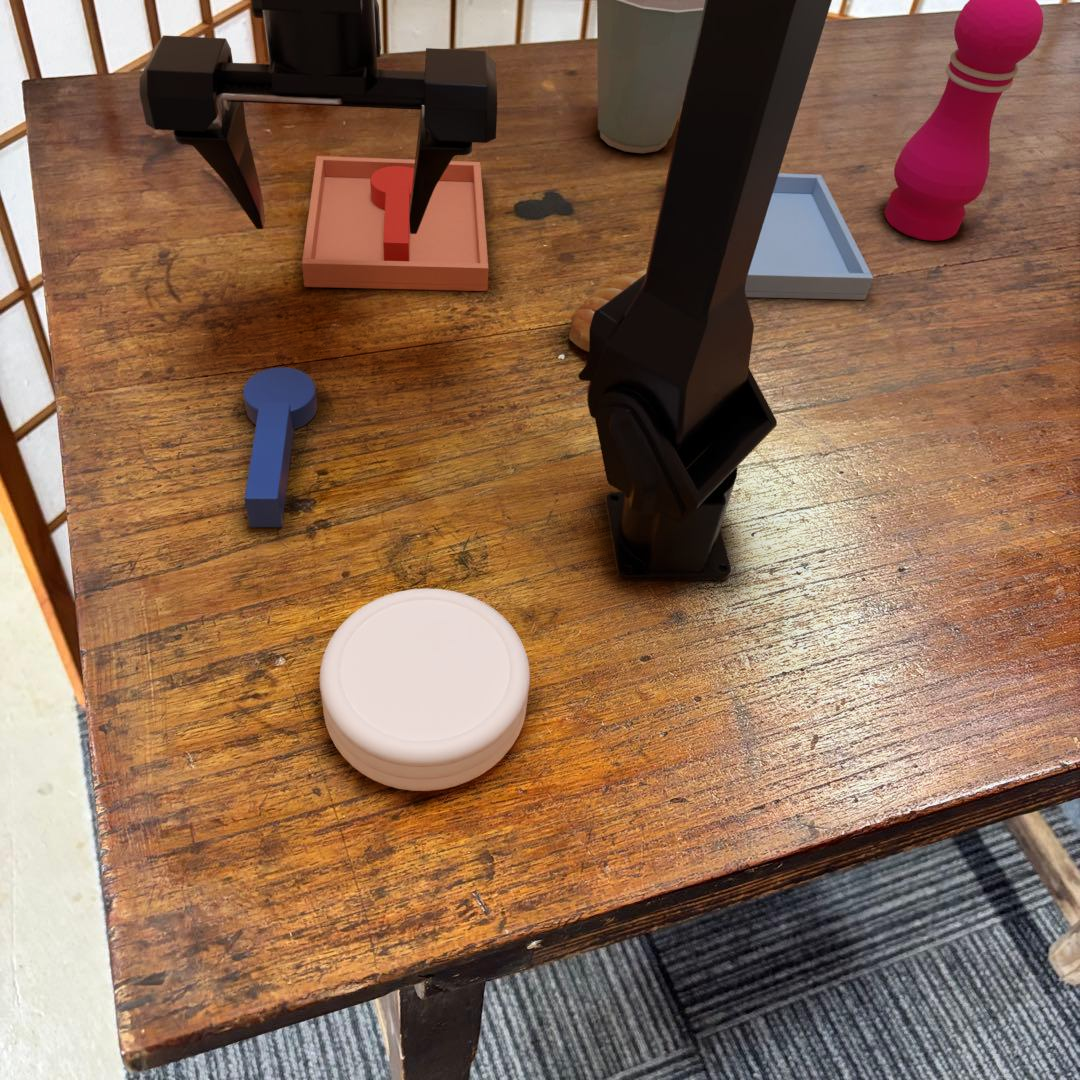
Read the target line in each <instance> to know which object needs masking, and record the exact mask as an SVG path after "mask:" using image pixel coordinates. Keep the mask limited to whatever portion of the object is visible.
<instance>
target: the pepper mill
mask: <svg viewBox="0 0 1080 1080" xmlns="http://www.w3.org/2000/svg"><path fill="white" fill-rule="evenodd" d="M1043 28H1044V15H1043V10H1042V7H1041V5H1040V3H1039V2H1038V1H1037V0H968V1H967V2H966V3H965V4H964V6H963V7H962V9H961V11H960V12H959V13H958V16H957V19H956V20H955V25H954V31H953V36H954V41H955V43H956V46H957V49H955V50H954V51H952V53H950V56H949V57H950V59H949V60H950V61H949V63H948V64H947V65H946V67H945V73H946V75H947V77H948V78H947V81H946V84H945V87H944V91H943V93H942V96H941V98H940V100H939V102H938V104H937V106H936V107H935V109H934V111H933V112H932V114H931V115H930V117H929V118H928V119H926V121H925V122H924V123H923V124H922V126H921V127H920V128H919V129H918V130H917V131H916V132H915V133H914V134H913V135H912V136H911V137H910V138H909V139H908V141H907V142H906V144H904V147H903V148H902V149H901V151H900V154H899V156H898V158H897V160H896V162H895V164H894V169H893V176H894V180H895V183H896V185H897V187H896V188H894V189H893V190H892V191H891V193H890V195H889V197H888V201H887V203H886V207H885V209H884V217H885V219H886V221H887V222H888V224H889V226H891V227H892V228H894V229H895V230H897V231H898V232H899V233H902V234H904V235H906V236H909V237H911V238H913V239H916V240H917V239H918V240H922V241H930V242H932V241H933V242H934V241H935V242H941V241H944V240H949V239H951V238H952V237H954V236H955V235H957V234H958V232H959V230H960V228H961V225H962V222H963V220H964V218H965V216H966V207H965V206H966V205H969V204H970V203H972V202H973V201H975V200H976V199H977V198H978V197H979V196H980V195H981V194H982V192H983V190H984V187H985V184H986V181H987V178H988V176H989V175H988V174H989V167H990V162H991V161H990V160H991V159H990V155H991V154H990V142H991V141H990V136H991V126H992V120H993V116H994V113H995V110H996V108H997V104H998V102H999V100H1000V98H1001V96H1002V94H1003V92H1006V91H1008V90H1009V89H1011V88H1012V86H1013V84H1014V79H1015V77H1016V76H1017V75H1018V72H1019V66H1018V65H1017V64H1018V63H1019V62H1021V61H1022V60H1024V59H1026V58H1027V57H1029V56H1030V55H1031V53H1033V51H1034V50H1035V49H1036V47H1037V45H1038V43H1039V41H1040V39H1041V36H1042V33H1043Z"/></svg>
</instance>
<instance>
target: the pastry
mask: <svg viewBox="0 0 1080 1080" xmlns="http://www.w3.org/2000/svg"><path fill="white" fill-rule="evenodd" d="M646 271H647V267H645V268H643V270H639V271H637V272H631V273H630V272H628V273H626V274H624V275H620V276H616V277H614V278H612V279H610V280H609V281H608V282H607V283H605V284H603V285H602V286H600V288H598V289H596V290H595V291H594V292H593V293H592V294H591V295H590V296H589V297H588V298H587V299H585V301H584V303H582V304H581V305H580V306H579V307H578V309H577V310H576V311H575V312H574V313H573V314H572V316H571V320H570V321H571V322H570V323H571V324H570V332H569V335H568V338H569V341H571V342H572V343H573V344H574V345H575V346H576V347H578V348H580V349H581V350H583V351H585V352H588V353H589V330H590V325H591V322H592V318H593V315H594V312H595V311H596V310H598V309H599V308H600V307H602V306H603V305H604V304H606V303H607V302H608V301H610V300H611V299H612V298H614V297H615V296H616V295H618V294H619V293H620V292H622V291H623V290H624V289H626V288H627V287H628V286H630V285H631V284H633V283H634V282H635V281H637V280H638V279H639V278H641V277H642V276H643V275H645V274H646Z"/></svg>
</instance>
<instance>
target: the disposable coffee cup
mask: <svg viewBox="0 0 1080 1080" xmlns="http://www.w3.org/2000/svg"><path fill="white" fill-rule="evenodd" d="M704 4H705V0H596V21H597V22H596V27H597V28H596V29H597V30H596V31H597V32H596V34H597V35H596V38H597V39H596V41H597V43H596V45H597V47H596V48H597V49H596V50H597V52H596V53H597V57H596V58H597V130H598V131H599V138H600V139H601V140H602V141H603V142H605V144H606V145H608V146H610V147H612V148H615V149H617V150H620V151H623V152H628V153H635V154H647V153H655V152H658V151H660V150H661V149H662V148H664V147H666V146H667V144H668V141H669V140H670V139H671V138H672V136H673V133H674V130H675V127H676V124H677V122H678V120H679V119H678V118H679V117H680V114H681V110H682V105H683V101H684V96H685V91H686V87H687V82H688V78H689V73H690V68H691V64H692V59H693V55H694V50H695V45H696V41H697V36H698V31H699V27H700V22H701V18H702V13H703V8H704Z"/></svg>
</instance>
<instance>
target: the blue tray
mask: <svg viewBox="0 0 1080 1080" xmlns="http://www.w3.org/2000/svg"><path fill="white" fill-rule="evenodd" d="M873 280H874V277H873V274H872V272H871V270H870V268H869V266H868V264H867V262H866V260H865V259H864V256H863V255H862V252H861V250H860V248H859V246H858V244H857V243H856V241H855V238H854V237H853V235H852V233H851V231H850V229H849V226H848V225H847V223H846V220H845V218H844V216H843V215H842V213H841V211H840V209H839V207H838V204H837V203H836V200H835V199H834V197H833V195H832V193H831V191H830V189H829V187H828V186H827V183H826V181H825V179H824V178H823V175H822V174H814V173H813V174H812V173H810V174H809V173H784V172H779V174H778V178H777V181H776V184H775V187H774V191H773V194H772V197H771V201H770V204H769V207H768V210H767V214H766V217H765V220H764V223H763V227H762V230H761V233H760V236H759V240H758V243H757V246H756V249H755V253H754V256H753V259H752V262H751V266H750V269H749V272H748V276H747V279H746V285H745V294H746V298H762V299H763V298H764V299H765V298H767V299H769V298H770V299H807V300H808V299H810V300H811V299H812V300H814V299H815V300H819V299H820V300H821V299H822V300H849V301H850V300H852V301H853V300H856V301H857V300H858V301H865V300H866V299H867V297H868V293H869V291H870V288H871V286H872V283H873Z"/></svg>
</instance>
